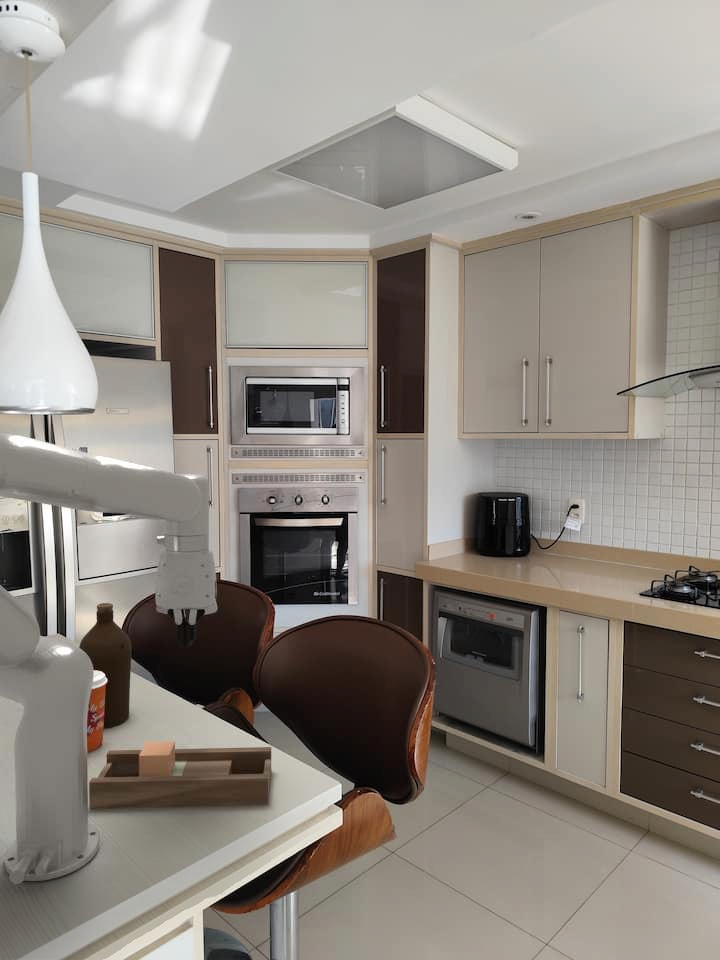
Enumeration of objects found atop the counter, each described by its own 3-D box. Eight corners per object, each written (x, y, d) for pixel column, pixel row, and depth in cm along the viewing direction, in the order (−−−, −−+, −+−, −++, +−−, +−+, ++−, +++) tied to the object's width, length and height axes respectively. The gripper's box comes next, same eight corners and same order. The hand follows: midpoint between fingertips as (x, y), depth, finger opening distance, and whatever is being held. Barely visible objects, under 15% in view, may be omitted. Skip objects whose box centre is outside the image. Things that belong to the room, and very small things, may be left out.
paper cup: (93, 757, 126) (92, 685, 125) (57, 752, 127) (56, 681, 126) (116, 738, 133) (115, 670, 132) (82, 734, 135) (81, 667, 134)
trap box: (267, 804, 111) (267, 778, 111) (89, 809, 109) (89, 782, 108) (271, 770, 122) (271, 747, 122) (109, 774, 120) (109, 750, 119)
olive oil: (137, 708, 148) (137, 598, 146) (124, 730, 137) (123, 611, 136) (88, 709, 147) (87, 598, 145) (71, 730, 137) (69, 611, 135)
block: (169, 777, 113) (169, 755, 113) (139, 778, 113) (139, 755, 112) (174, 763, 118) (174, 741, 118) (146, 763, 118) (146, 741, 117)
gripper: (138, 546, 114) (138, 650, 115) (225, 547, 114) (225, 651, 116) (150, 539, 121) (151, 637, 123) (232, 540, 122) (232, 638, 123)
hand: (186, 644), depth 119 cm, fingers closed
